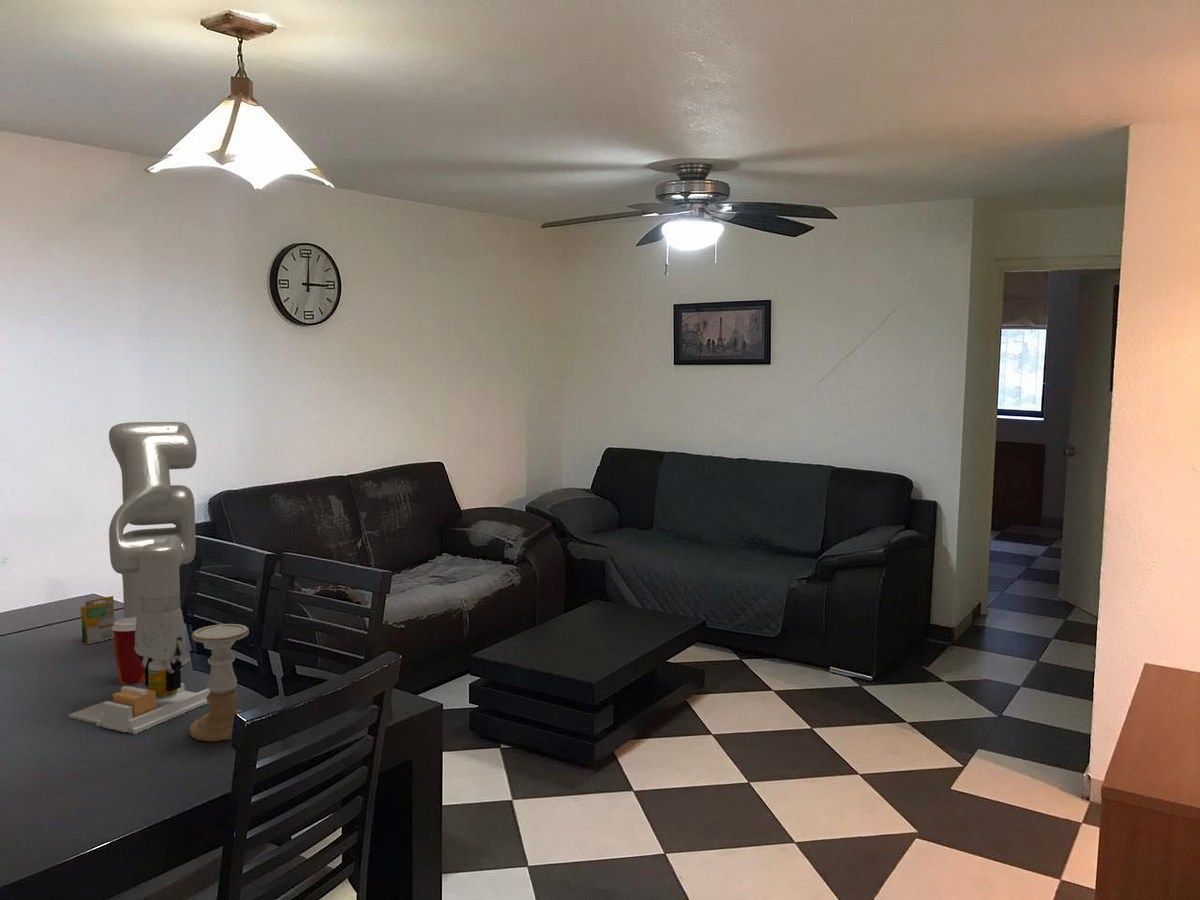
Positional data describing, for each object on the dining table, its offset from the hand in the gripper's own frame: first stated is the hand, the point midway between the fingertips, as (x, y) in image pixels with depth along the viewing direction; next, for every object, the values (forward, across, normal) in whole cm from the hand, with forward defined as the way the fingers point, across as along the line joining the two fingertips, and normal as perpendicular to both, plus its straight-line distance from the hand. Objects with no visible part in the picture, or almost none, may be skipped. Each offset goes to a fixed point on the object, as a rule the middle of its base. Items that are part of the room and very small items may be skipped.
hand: (163, 686), depth 192 cm
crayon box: (+7, -55, +28) cm, 62 cm away
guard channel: (+5, +1, -2) cm, 5 cm away
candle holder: (+5, +20, -3) cm, 20 cm away
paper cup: (+6, -21, +10) cm, 24 cm away
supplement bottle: (+2, 0, 0) cm, 2 cm away
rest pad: (+5, -9, -7) cm, 13 cm away
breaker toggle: (+4, +1, -7) cm, 8 cm away
